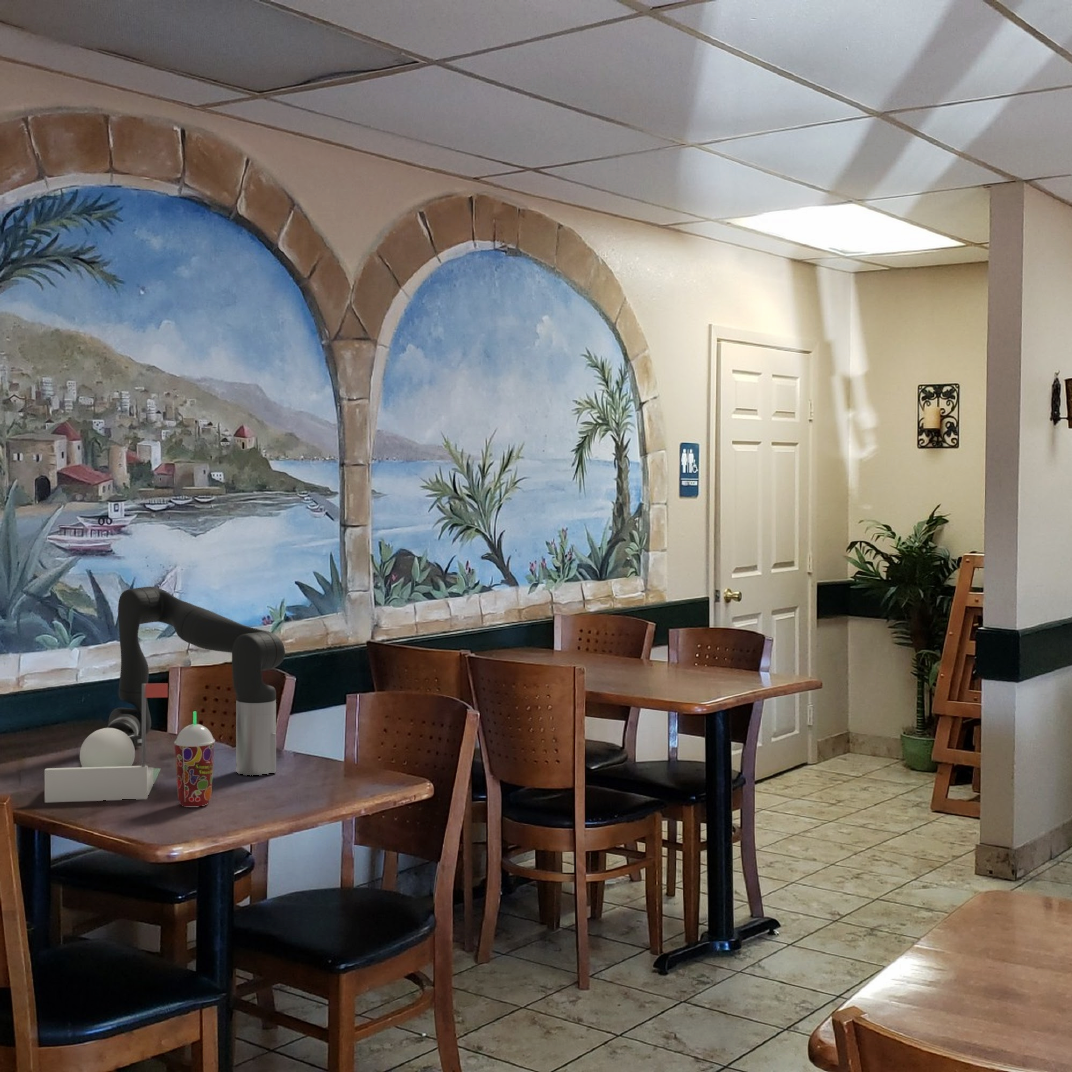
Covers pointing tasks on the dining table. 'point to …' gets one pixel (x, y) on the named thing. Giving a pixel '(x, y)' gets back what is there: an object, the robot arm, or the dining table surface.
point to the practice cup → (106, 772)
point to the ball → (107, 749)
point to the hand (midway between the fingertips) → (111, 747)
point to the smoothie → (194, 764)
